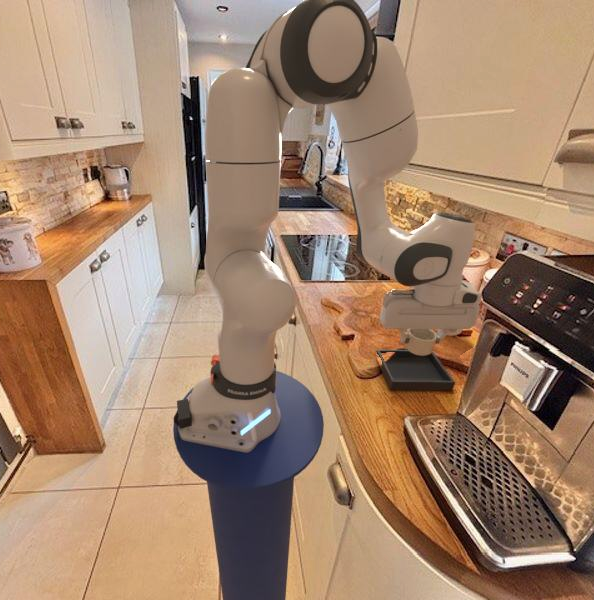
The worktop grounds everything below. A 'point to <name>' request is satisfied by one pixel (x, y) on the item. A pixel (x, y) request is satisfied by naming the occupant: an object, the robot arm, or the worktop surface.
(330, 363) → the worktop surface
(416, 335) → the cup
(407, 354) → the tray
